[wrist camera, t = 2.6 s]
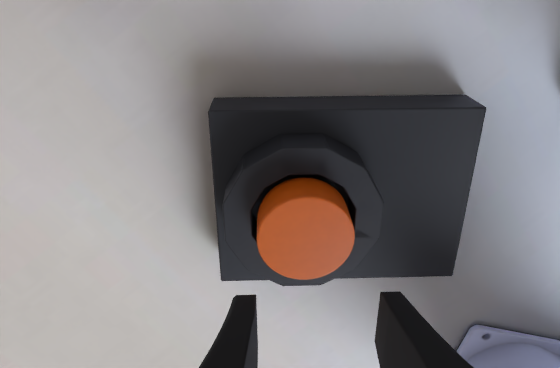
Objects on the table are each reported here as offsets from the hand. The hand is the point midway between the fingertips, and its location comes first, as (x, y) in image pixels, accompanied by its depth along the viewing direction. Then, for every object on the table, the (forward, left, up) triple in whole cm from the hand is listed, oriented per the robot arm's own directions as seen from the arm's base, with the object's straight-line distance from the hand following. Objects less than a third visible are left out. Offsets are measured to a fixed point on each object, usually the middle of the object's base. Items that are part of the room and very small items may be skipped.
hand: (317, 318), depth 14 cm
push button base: (-2, 0, -10) cm, 10 cm away
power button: (0, 0, -6) cm, 6 cm away
